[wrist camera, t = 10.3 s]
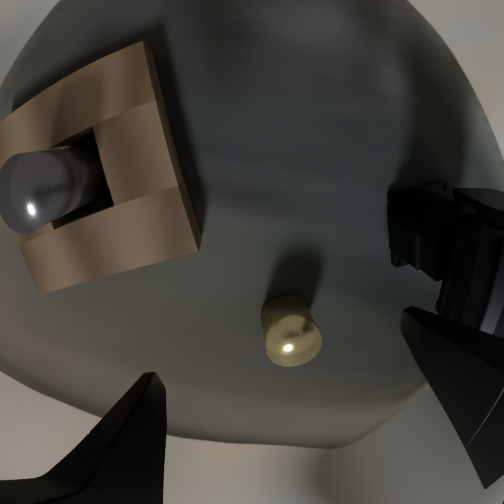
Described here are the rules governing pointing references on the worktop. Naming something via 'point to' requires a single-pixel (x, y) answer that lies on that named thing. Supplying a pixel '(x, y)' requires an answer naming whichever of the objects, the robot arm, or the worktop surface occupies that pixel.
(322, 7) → the worktop surface
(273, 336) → the short pin
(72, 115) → the hole plate
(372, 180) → the worktop surface
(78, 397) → the worktop surface
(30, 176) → the tall pin
